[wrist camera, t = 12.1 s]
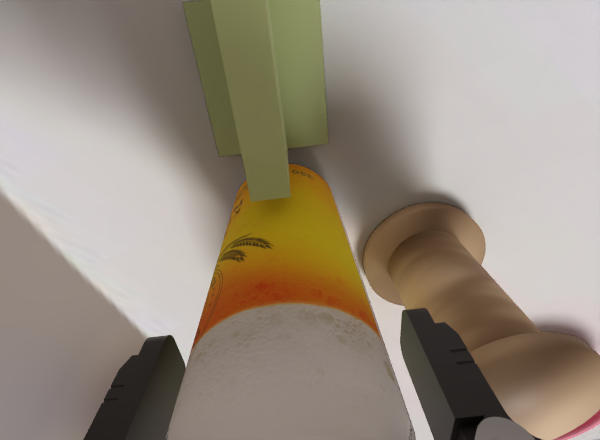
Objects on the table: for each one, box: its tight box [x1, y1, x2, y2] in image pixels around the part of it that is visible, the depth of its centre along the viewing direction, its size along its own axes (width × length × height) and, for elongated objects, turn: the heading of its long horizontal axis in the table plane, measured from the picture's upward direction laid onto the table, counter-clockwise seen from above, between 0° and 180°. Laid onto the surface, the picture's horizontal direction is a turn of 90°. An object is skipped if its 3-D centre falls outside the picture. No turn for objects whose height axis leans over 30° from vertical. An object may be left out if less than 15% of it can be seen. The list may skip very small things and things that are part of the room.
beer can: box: [165, 164, 416, 440], centre depth 13 cm, size 6×6×15 cm
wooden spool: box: [363, 202, 600, 440], centre depth 18 cm, size 8×8×11 cm
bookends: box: [183, 0, 328, 202], centre depth 17 cm, size 6×22×7 cm, turn 6°
